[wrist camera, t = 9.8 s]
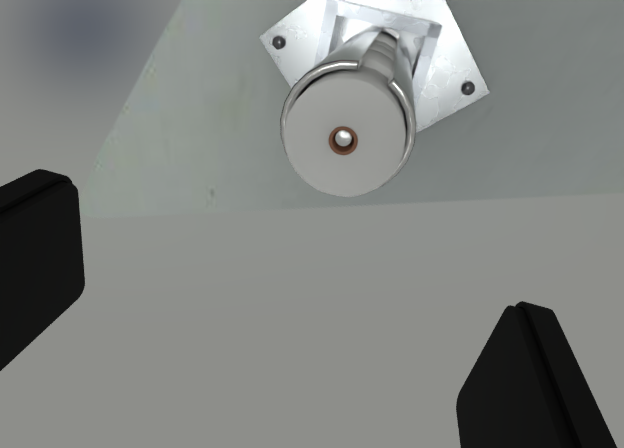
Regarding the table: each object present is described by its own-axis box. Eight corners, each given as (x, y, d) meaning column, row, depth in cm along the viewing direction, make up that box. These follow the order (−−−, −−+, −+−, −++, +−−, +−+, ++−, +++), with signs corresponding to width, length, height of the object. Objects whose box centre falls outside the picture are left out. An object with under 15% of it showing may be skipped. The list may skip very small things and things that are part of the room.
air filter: (423, 71, 41) (444, 158, 19) (365, 111, 44) (327, 225, 22) (386, 9, 39) (363, 28, 18) (328, 54, 42) (246, 119, 20)
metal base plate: (408, -75, 37) (409, -87, 32) (488, 91, 42) (500, 104, 37) (261, 36, 43) (242, 41, 38) (345, 169, 48) (338, 190, 43)
